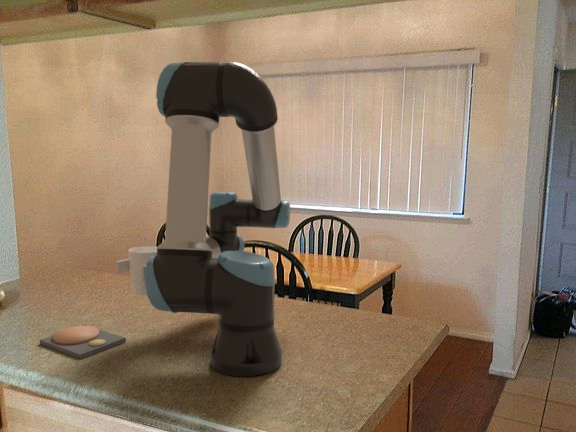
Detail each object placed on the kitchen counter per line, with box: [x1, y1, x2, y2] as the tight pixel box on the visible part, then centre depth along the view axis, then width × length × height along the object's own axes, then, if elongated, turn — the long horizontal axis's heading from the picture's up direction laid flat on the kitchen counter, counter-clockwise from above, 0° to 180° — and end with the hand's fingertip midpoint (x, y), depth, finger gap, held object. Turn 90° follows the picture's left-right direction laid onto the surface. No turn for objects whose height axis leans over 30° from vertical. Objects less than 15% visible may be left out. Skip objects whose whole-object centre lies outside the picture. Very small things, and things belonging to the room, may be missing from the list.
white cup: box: [127, 245, 158, 296], centre depth 120 cm, size 8×8×10 cm
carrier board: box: [39, 324, 127, 360], centre depth 119 cm, size 15×12×2 cm
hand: (129, 269), depth 116 cm, fingers closed on white cup, 8 cm apart
